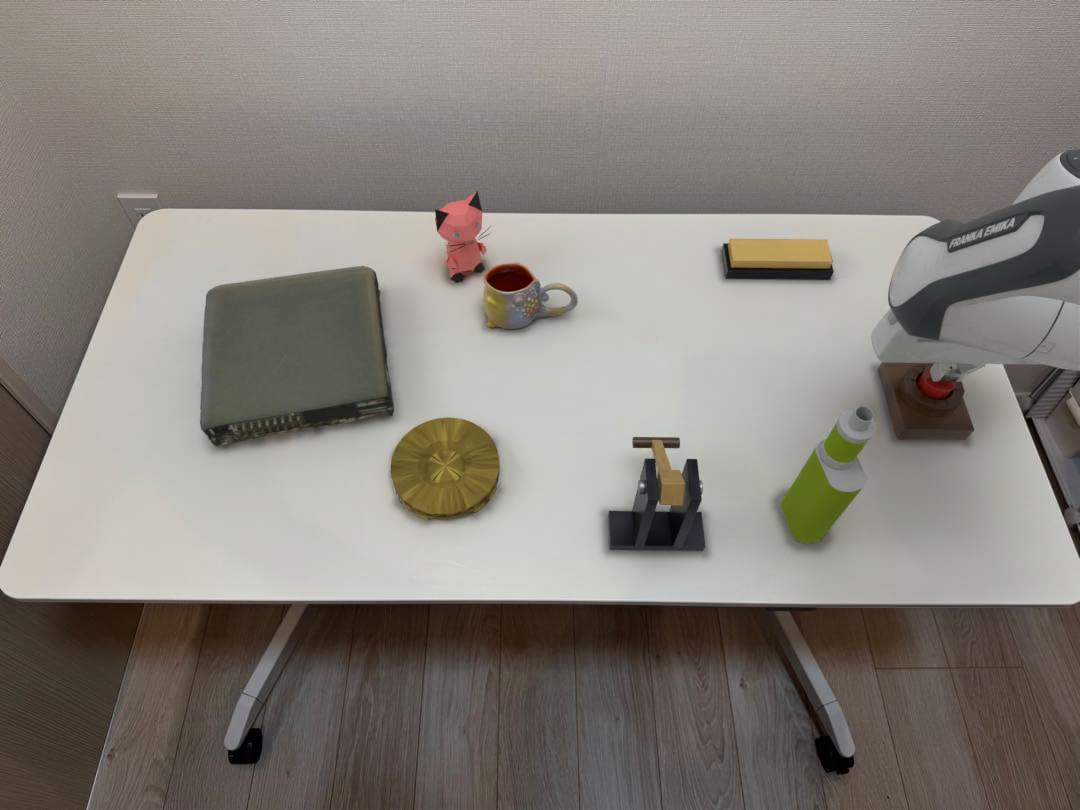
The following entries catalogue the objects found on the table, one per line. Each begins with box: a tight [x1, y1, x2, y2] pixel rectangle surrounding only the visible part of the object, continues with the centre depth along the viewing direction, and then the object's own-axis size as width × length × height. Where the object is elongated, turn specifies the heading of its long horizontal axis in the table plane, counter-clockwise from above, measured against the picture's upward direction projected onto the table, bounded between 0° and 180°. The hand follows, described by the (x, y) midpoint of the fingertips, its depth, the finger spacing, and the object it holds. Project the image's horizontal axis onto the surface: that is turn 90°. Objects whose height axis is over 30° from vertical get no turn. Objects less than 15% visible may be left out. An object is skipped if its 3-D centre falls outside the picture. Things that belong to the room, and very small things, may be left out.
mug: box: [482, 262, 579, 330], centre depth 96 cm, size 12×7×7 cm, turn 80°
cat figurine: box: [434, 190, 491, 284], centre depth 98 cm, size 7×7×12 cm
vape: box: [780, 405, 876, 545], centre depth 75 cm, size 4×6×20 cm, turn 11°
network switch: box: [199, 265, 395, 447], centre depth 92 cm, size 23×23×5 cm
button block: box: [877, 362, 975, 441], centre depth 90 cm, size 10×8×4 cm
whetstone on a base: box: [720, 238, 835, 281], centre depth 102 cm, size 5×14×3 cm, turn 90°
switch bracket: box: [607, 457, 706, 552], centre depth 77 cm, size 4×10×13 cm, turn 89°
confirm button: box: [918, 366, 956, 399], centre depth 88 cm, size 4×4×2 cm
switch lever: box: [631, 436, 685, 506], centre depth 78 cm, size 12×5×2 cm
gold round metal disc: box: [389, 417, 501, 521], centre depth 85 cm, size 12×12×2 cm
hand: (943, 376), depth 87 cm, fingers closed
